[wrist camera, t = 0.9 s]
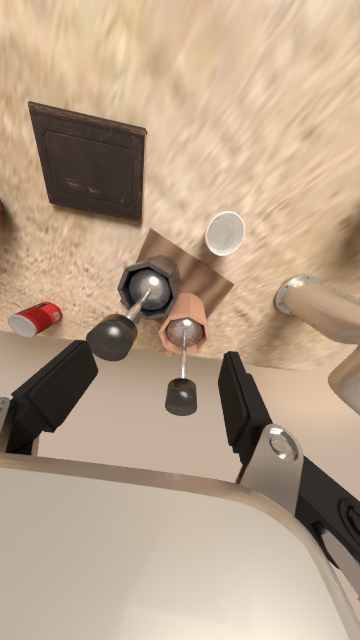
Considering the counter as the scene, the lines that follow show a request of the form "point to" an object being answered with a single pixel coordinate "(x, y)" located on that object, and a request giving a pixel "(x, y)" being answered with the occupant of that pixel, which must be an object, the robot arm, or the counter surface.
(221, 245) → the white cup
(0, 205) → the butternut squash
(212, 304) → the walnut board
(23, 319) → the canned food
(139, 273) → the charcoal plunger
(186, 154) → the counter surface
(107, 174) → the hardcover book
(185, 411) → the black knob metal plunger
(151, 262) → the dark grey faceted mug
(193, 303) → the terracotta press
